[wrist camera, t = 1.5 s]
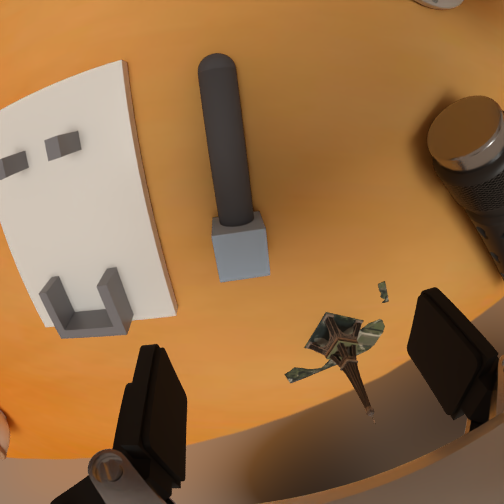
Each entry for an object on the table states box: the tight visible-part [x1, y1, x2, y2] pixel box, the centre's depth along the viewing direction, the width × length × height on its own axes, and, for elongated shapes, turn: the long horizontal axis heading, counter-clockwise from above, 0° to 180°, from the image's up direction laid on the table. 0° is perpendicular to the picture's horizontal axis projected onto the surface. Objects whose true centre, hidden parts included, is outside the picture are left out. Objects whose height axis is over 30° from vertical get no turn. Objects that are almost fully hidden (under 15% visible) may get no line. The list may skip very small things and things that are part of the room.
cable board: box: [0, 60, 178, 339], centre depth 22 cm, size 23×16×5 cm
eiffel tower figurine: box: [285, 281, 389, 422], centre depth 28 cm, size 15×10×13 cm
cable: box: [198, 53, 270, 282], centre depth 22 cm, size 17×4×4 cm, turn 6°
